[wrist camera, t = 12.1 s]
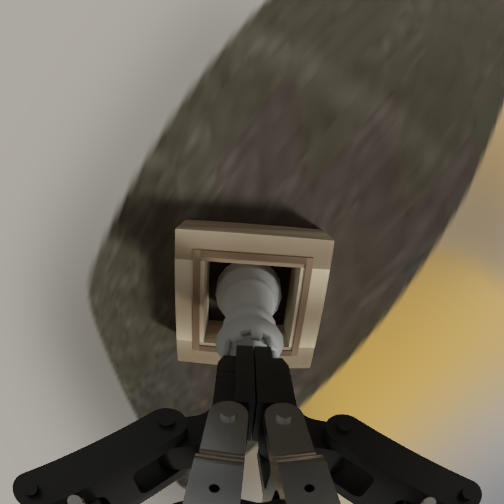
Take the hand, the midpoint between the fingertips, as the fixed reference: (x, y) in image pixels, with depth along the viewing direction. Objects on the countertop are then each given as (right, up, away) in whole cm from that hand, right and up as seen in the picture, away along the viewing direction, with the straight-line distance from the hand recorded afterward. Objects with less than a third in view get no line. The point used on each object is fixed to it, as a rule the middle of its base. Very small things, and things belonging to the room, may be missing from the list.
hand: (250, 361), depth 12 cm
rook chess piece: (0, +2, +8) cm, 8 cm away
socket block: (0, +2, +8) cm, 8 cm away
